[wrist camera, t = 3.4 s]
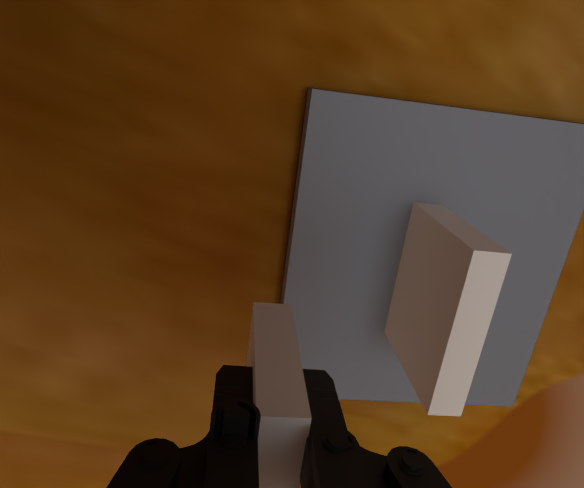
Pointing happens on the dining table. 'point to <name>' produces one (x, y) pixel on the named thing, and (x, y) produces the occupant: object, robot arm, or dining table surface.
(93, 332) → the dining table surface
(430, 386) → the tile
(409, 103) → the board
